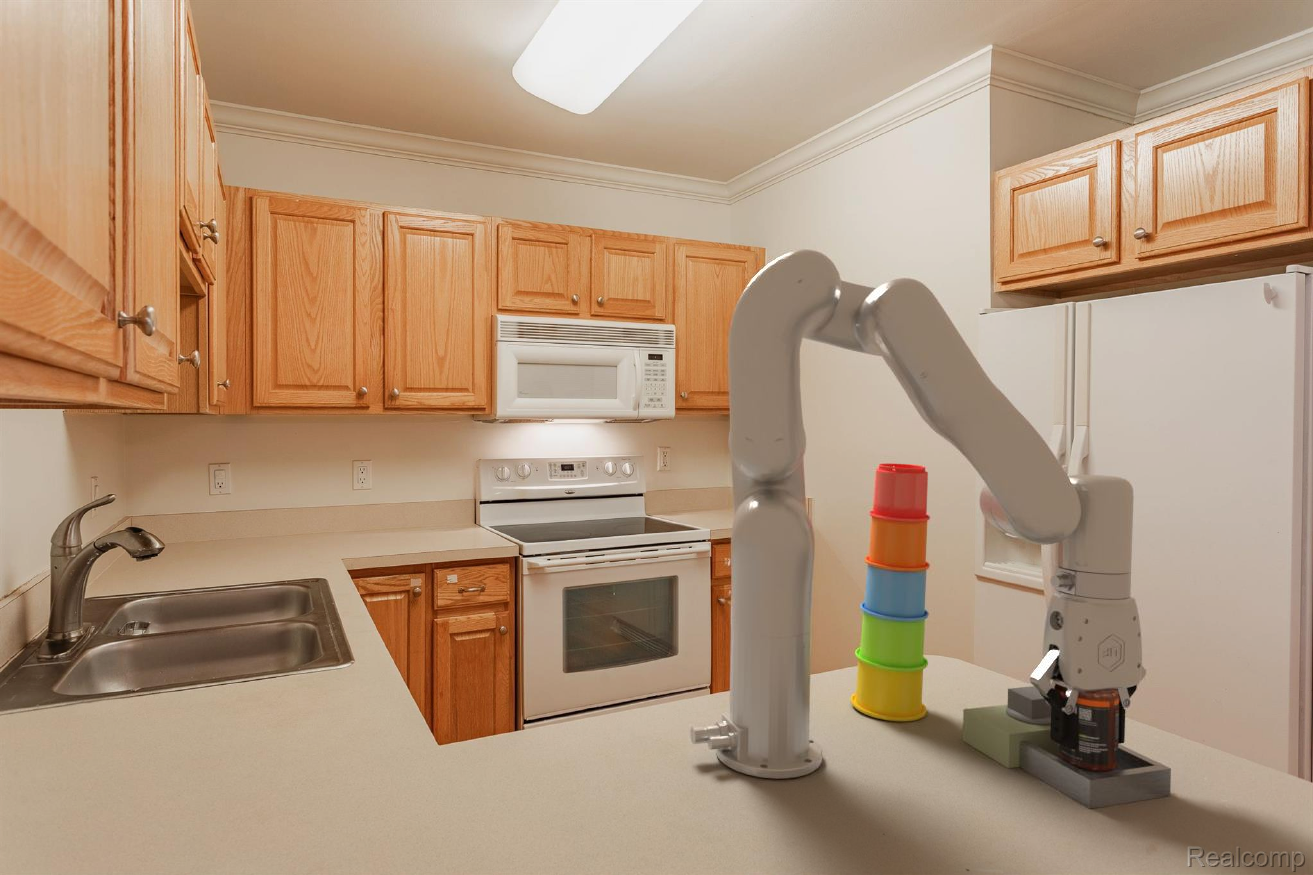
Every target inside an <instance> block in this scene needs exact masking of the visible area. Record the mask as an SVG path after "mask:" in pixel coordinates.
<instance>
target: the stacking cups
mask: <svg viewBox="0 0 1313 875" xmlns="http://www.w3.org/2000/svg"><path fill="white" fill-rule="evenodd" d="M928 482H929V472H928V471H926V467H925V466H923V465H917V464H907V463H888V462H887V463H879V464H878V467H877V468H876V469H875V475H874V491H873V504H872V506H873V508H872V510H870V511H869V512H868V515H869V516H870V517H871V523H870V524H871V525H870V535H869V536H870V537H869V539H870V540H869V550H868V551H869V552H868V555H866V557H865V558H864V562H865V563H866V564H867V565H866V566H867V567H866V569H867V570H866V579H865V580H866V581H865V593H864V601H863V602H862V603H861V604H860V610H861V611H862V623H861V635H860V637H861V638H860V647H858V648H857V649H855V652H854V655H855V658H856V659H857V660H858V662H857V672H856V674H857V675H856V688H855V693H853V694H852V695H851V696H850V703H851V705H852V706H853V707H854V708H855V709H856V710H857V711H859V712H860V713H862V714H864V715H867V716H870V717H871V718H876V719H880V720H884V721H888V722H901V723H902V722H912V721H917V720H920V719H922V718H924V717H925V716H926V715H927V711H928V710H927V706H926V705H925V704H924V703H923V682H924V681H923V680H924V679H923V678H924V669H926V668H927V667H928V665H929V661H928V659H927V658H926V657H925V656H924V647H925V646H924V645H925V628H926V624H925V623H926V619H928V618H929V615H930V613H929V612H928V610H927V609H926V589H927V588H926V586H927V584H926V583H927V570H929V568H930V567H931V565H930V563H929V562H928V561H927V541H928V540H927V537H928V521H929V520H931V516H930V515H929V514H927V513H928V511H927V508H928V487H929V486H928Z"/></svg>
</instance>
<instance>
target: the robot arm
mask: <svg viewBox="0 0 1313 875" xmlns="http://www.w3.org/2000/svg"><path fill="white" fill-rule="evenodd" d="M728 333H729V334H728V342H727V344H728V345H727V353H728V354H727V361H728V362H727V363H728V399H729V400H728V402H729V431H728V441H727V442H728V449H729V453H730V462H731V479H732V480H731V482H732V496H733V497H732V498H733V500H732V501H733V514H734V518H733V522H732V527H731V528H732V529H731V535H730V536H731V537H730V575H731V576H730V577H731V578H730V580H731V582H730V584H731V585H730V587H731V588H730V591H731V592H730V663H729V664H730V665H729V666H730V669H729V712H724V713H723V712H722V713H721V721H717V722H715V723H714V725H701V726H700V725H699V726H697V725H696V726H692V727H690V731H689V732H690V733H689V734H690V741H691V744H692V745H699V744H707V746H708V749H709V750H715V753H716V756H717V758H718V759H719V760H720V761H721V763H723V764H724V765H725V766H727V767H728V768H730V769H732V770H734V771H736V772H739V773H741V774H745V775H748V776H753V777H757V778H763V779H779V780H781V779H790V778H791V779H792V778H798V777H801V776H805V775H809V774H811V773H813V772H815V770H817V769H818V768H819V767H820V766H821V764H822V762H823V750H822V747H821V746H820V744H819V743H818V742H817V741H816V739H815V740H814V739H813V738H812V737H810V723H811V722H810V721H811V720H810V717H811V716H810V712H811V707H810V706H811V660H812V658H811V657H812V654H811V653H812V652H811V651H812V595H813V592H812V591H813V579H814V578H813V577H814V564H815V548H816V547H815V546H816V545H815V534H814V533H815V531H814V526H813V522H812V519H811V517H810V515H809V513H808V511H807V500H806V483H805V479H806V478H805V468H804V467H805V461H804V456H805V454H806V450H807V449H806V448H807V436H806V431H805V427H804V426H805V425H804V420H803V419H804V418H803V408H802V397H801V396H802V392H801V360H800V359H801V353H800V352H801V347H802V341H803V339H806V340H810V341H814V342H817V343H818V342H819V343H822V344H826V345H829V346H833V347H836V348H841V349H844V350H845V349H846V350H847V351H848V350H849V351H851V352H852V351H853V352H856V353H862V354H867V355H872V356H877V357H882V358H883V361H884V362H885V363H886V365H887V367H888V368H889V369H890V370H891V372H892V373H893V375H894V376H895V378H896V380H897V381H898V383H899V384H900V386H901V388H902V389H903V390H904V392H905V393H906V395H907V397H908V399H909V400H910V402H911V403H912V405H913V406H914V408H915V410H916V411H917V413H918V414H919V416H920V417H921V419H922V420H923V422H924V423H925V424H926V425H928V427H930V429H932V431H934V432H935V433H936V434H938V435H939V436H940V437H942V439H944V440H946V441H947V442H948V443H949V444H951V445H952V446H954V448H955V449H956V450H958V451H959V452H960V453H961V454H962V456H964V457H965V458H966V460H967V461H968V462H969V464H971V466H972V467H973V468H974V470H975V471H976V472H977V473H978V475H979V476H980V478H981V479H982V481H983V482H984V483H985V484H984V485H983V486H982V488H981V491H980V495H979V500H978V501H979V507H980V508H979V509H980V511H981V513H982V515H983V517H984V518H985V519H986V520H987V522H988V523H989V524H990V525H991V526H993V527H994V528H996V529H997V530H999V531H1001V532H1003V533H1006V534H1008V535H1010V536H1013V537H1015V538H1016V537H1017V538H1018V539H1020V540H1022V541H1026V542H1028V543H1031V544H1033V545H1041V546H1042V545H1043V546H1044V545H1053V544H1055V547H1054V548H1055V549H1054V550H1055V556H1054V575H1052V576H1051V577H1050V585H1051V586H1052V587H1053V588H1054V589H1053V590H1054V591H1053V593H1051V595H1050V598H1049V602H1048V607H1047V611H1046V616H1045V623H1044V630H1043V631H1044V632H1043V641H1042V657H1041V658H1042V661H1041V662H1040V664H1039V665H1038V666H1037V667H1036V669H1035V670H1034V671H1033V672H1032V674H1031V675H1030V677H1029V682H1030V683H1031V685H1032V686H1035V688H1036V689H1037V690H1038V691H1039V692H1040V694H1041V695H1042V696H1043V698H1044V699H1045V700H1046V703H1047V705H1049V706H1051V731H1050V737H1051V739H1052V740H1053V741H1055V742H1057V743H1058V744H1060V745H1062V746H1064V747H1066V748H1068V749H1070V750H1073V749H1076V748H1077V733H1078V715H1077V714H1075V713H1073V710H1074V707H1075V704H1076V701H1077V698H1078V696H1079V693H1080V691H1081V692H1087V691H1098V690H1109V689H1117V691H1118V693H1119V731H1118V732H1119V733H1118V735H1119V736H1118V737H1119V738H1118V744H1120V745H1122V744H1124V743H1125V740H1126V739H1125V736H1126V735H1125V733H1126V730H1125V729H1126V709H1128V708H1130V706H1131V704H1132V703H1131V697H1132V696H1133V695H1134V694H1135V692H1136V691H1137V689H1138V686H1139V684H1140V683H1141V682H1142V680H1143V679H1144V678H1145V677H1146V676H1147V670H1146V669H1145V668H1144V666H1143V647H1142V646H1143V645H1142V634H1141V633H1142V631H1141V630H1142V629H1141V622H1140V615H1139V610H1138V606H1137V603H1136V602H1137V601H1136V598H1134V597H1131V593H1132V592H1131V590H1132V588H1131V587H1132V586H1131V585H1132V584H1131V583H1132V558H1133V557H1132V555H1133V554H1132V552H1133V528H1134V527H1133V526H1134V525H1133V524H1134V523H1133V522H1134V521H1133V520H1134V488H1133V485H1132V484H1131V483H1130V481H1129V480H1127V479H1126V478H1123V477H1118V476H1112V475H1099V474H1098V475H1097V474H1070V475H1068V474H1067V473H1066V471H1065V469H1064V468H1063V466H1062V465H1061V463H1060V462H1059V460H1058V459H1057V456H1056V455H1055V454H1054V452H1053V451H1052V450H1051V448H1050V447H1049V445H1048V443H1047V442H1046V441H1045V440H1044V438H1043V437H1042V436H1041V434H1040V433H1039V432H1038V431H1037V430H1036V428H1035V427H1034V426H1033V425H1032V424H1031V423H1030V421H1029V420H1028V419H1027V418H1026V417H1025V416H1024V415H1023V414H1022V413H1021V412H1020V411H1019V410H1018V409H1017V407H1015V405H1014V404H1013V403H1012V402H1011V400H1010V399H1009V398H1008V397H1007V396H1006V395H1005V394H1004V393H1003V392H1002V391H1001V390H1000V389H999V388H998V387H997V386H996V385H995V384H994V383H993V382H992V380H991V379H990V377H989V376H988V375H987V374H986V372H985V370H984V369H983V368H982V366H981V364H980V362H979V361H978V360H977V358H976V357H975V355H974V354H973V352H972V351H971V349H970V348H969V345H968V344H967V343H966V341H965V340H964V339H963V336H961V334H960V333H959V330H958V329H957V327H956V326H955V325H954V323H953V322H952V320H951V318H950V317H949V315H948V314H947V312H946V311H945V309H944V307H943V305H941V303H940V301H939V300H938V299H937V297H936V295H935V294H934V293H933V292H932V291H931V289H930V288H929V287H927V286H926V285H925V284H924V283H922V282H921V281H919V280H917V279H914V278H909V277H907V278H906V277H904V278H903V277H902V278H901V277H900V278H894V279H891V280H890V281H887V282H885V283H883V284H881V285H880V286H878V287H877V288H875V287H871V286H867V285H861V284H857V283H853V282H849V281H844V280H841V276H840V272H839V271H838V268H837V267H836V265H835V263H834V262H833V261H832V260H831V259H830V258H829V257H828V256H827V255H826V254H824V253H822V252H820V251H817V250H812V249H798V250H794V251H790V252H787V253H785V254H783V255H781V256H779V257H777V258H776V259H775V260H772V261H771V262H770V263H768V264H767V265H766V266H764V267H763V268H762V269H761V270H760V271H759V272H758V273H757V274H755V276H754V277H753V278H752V279H751V280H750V281H749V283H748V284H747V285H746V287H745V289H744V290H743V292H742V293H741V295H740V297H739V299H738V301H737V303H736V306H735V307H734V311H733V313H732V317H731V321H730V326H729V332H728ZM1051 680H1052V682H1051ZM1063 687H1065V688H1067V692H1066V695H1065V698H1064V697H1063V696H1062V695H1061V692H1062V689H1063Z"/></svg>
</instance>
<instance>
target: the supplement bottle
mask: <svg viewBox="0 0 1313 875" xmlns="http://www.w3.org/2000/svg"><path fill="white" fill-rule="evenodd" d="M1066 692H1067V688H1065V687H1063V689H1062V692H1061V695H1062V696H1063V697H1064V698H1065V695H1066ZM1073 713H1075V714H1077V715H1078V733H1077V748H1076V749H1073V750H1070V749H1068V748H1066V747H1064V746H1062V745H1060V744H1058V748H1059V751H1058V752H1059V756H1060V758H1061V759H1062V760H1063V761H1065V762H1067V763H1069V764H1071V765H1072V766H1074V767H1076V768H1079V769H1082V770H1086V771H1090V772H1109V771H1112V770H1114V769H1116V767H1117V765H1118V738H1119V737H1118V736H1119V735H1118V733H1119V732H1118V731H1119V693H1118V691H1117V689H1109V690H1098V691H1087V692H1081V691H1080V693H1079V696H1078V698H1077V701H1076V704H1075V707H1074V710H1073Z"/></svg>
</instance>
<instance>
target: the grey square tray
mask: <svg viewBox="0 0 1313 875" xmlns="http://www.w3.org/2000/svg"><path fill="white" fill-rule="evenodd" d="M1018 768H1021V769H1022V770H1024V771H1025V772H1027V773H1029V774H1030V775H1032V776H1034V777H1035V778H1037V779H1039V780H1040V781H1042V782H1044V783H1046V784H1047V785H1049V786H1051V787H1053V788H1054V789H1055V790H1057V791H1059V792H1061V793H1062V794H1064V795H1065V796H1067V797H1069V798H1071V799H1073V800H1074V801H1076V802H1077V803H1079V804H1081V805H1083V806H1085V807H1086V808H1088V809H1090V810H1091V809H1096V808H1102V807H1108V806H1114V805H1121V804H1127V803H1135V802H1140V801H1146V800H1147V801H1148V800H1152V799H1160V798H1166V797H1170V796H1171V784H1172V783H1171V780H1172V779H1171V777H1172V768H1171V767H1169V766H1167V765H1165V764H1162V763H1161V762H1158V761H1155V760H1154V759H1151V758H1149V757H1147V756H1146V755H1143V754H1141V753H1139V752H1137V751H1135V750H1133V749H1131V748H1129V747H1127V746H1125V745H1122V744H1118V765H1117V767H1116V769H1114V770H1112V771H1109V772H1090V771H1086V770H1082V769H1079V768H1076V767H1074V766H1072V765H1071V764H1069V763H1067V762H1065V761H1063V760H1062V759H1060V758H1058V757H1056V756H1054V755H1052V754H1050V753H1048V752H1047V751H1045V750H1043V749H1041V748H1039V747H1037V746H1036V745H1034V744H1032V743H1030V742H1028V741H1020V746H1019V767H1018Z"/></svg>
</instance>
